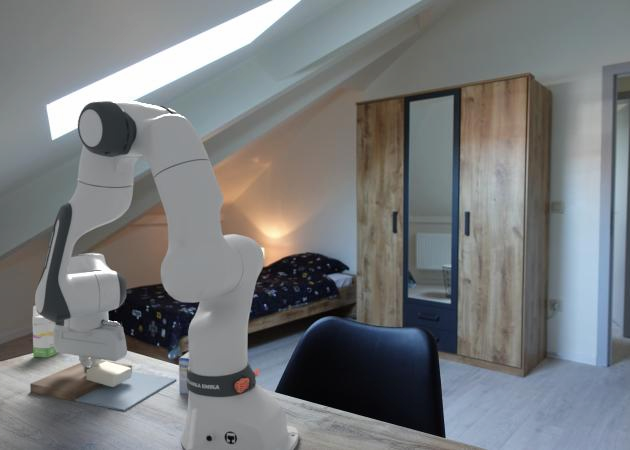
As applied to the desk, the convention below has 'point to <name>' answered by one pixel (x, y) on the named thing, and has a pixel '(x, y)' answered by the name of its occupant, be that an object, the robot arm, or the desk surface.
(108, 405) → the mat
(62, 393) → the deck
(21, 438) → the desk surface
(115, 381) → the tile
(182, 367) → the medicine box
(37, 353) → the ink box
